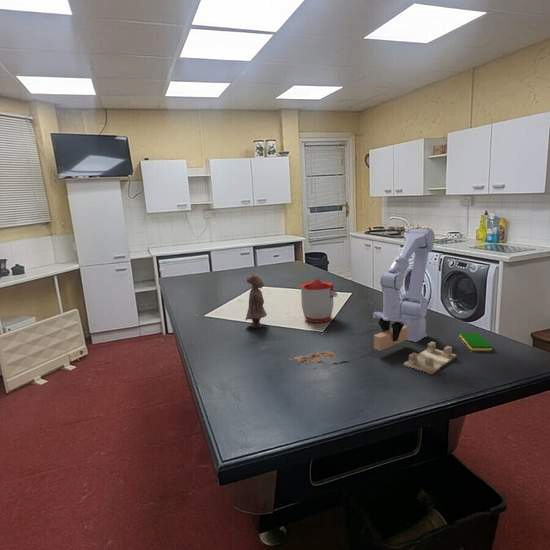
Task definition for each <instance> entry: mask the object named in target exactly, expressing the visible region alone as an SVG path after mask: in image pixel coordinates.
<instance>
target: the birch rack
mask: <svg viewBox="0 0 550 550" xmlns="http://www.w3.org/2000/svg"><path fill="white" fill-rule="evenodd" d="M436 346H437V345H436V342H435V341H430V342H428V343H427V348H426V349H424V350H423V351H421V352H419V353H416V352H412V353H409V355H408V359H407V361H405V362H404V363H403V366H404V365H405V366H404V367H406V366H408V367H407V368H409V367H411V368H410V369H412V368H415V369H417V370H416V371H418V370H420V371H419V372H421V371H423V372H422V373H424V372H427V373H430V374H432V373H433V374H435V373H436V372H437V371H436V370H438V369H439V368H440V367H442V366H443V365H445V364H446V363H448V362H449V361H450V362H452V361H453V360H454V359H453V358H455V357H456V358H457V354H455V353H452V349H453V348H452V346H449V345H446V346H445V347H444V348H443V350H440V349H437V348H436ZM456 358H455V359H456ZM452 359H453V360H452ZM451 360H452V361H451ZM450 362H449V363H450ZM449 363H448V364H449ZM446 365H447V364H446ZM446 365H445V366H446ZM443 367H444V366H443ZM443 367H442V368H443ZM415 369H414V370H415ZM439 370H440V369H439ZM439 370H438V371H439ZM435 371H436V372H435ZM434 372H435V373H434ZM427 373H426V374H427ZM430 374H429V375H430ZM433 374H432V375H433Z"/></svg>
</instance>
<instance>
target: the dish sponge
mask: <svg viewBox="0 0 550 550" xmlns="http://www.w3.org/2000/svg"><path fill="white" fill-rule="evenodd" d="M460 337H461V338H462V340H463V341H464V342H465V343H466V344H467V346H468V347H469V348H470V349H471V350H492V351H493V346H492V345H491V344H490V343H489V342H488V341H487V340H486V339H485V338H484V337H483V336H482V335H481V333H479V332H460V333H459V338H460ZM462 340H461V341H462ZM463 341H462V342H463ZM464 342H463V343H464ZM467 346H466V347H467ZM468 347H467V348H468ZM469 348H468V349H469Z"/></svg>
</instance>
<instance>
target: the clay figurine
mask: <svg viewBox="0 0 550 550" xmlns="http://www.w3.org/2000/svg"><path fill="white" fill-rule="evenodd" d="M246 282H247V283H248V284H249V285H251V289H250V291H249V296H248V308H247V311H246V317H245V321H247V320H251V321H252V322H251V323H250V325H251V328H260V329H261V328H262V323H261V322H260V321H261V319H263V318H265V317H267V315H268V314H267V312H266V310H265V308H264V303H265V300H264V297H263V292H262V290H261V289H262V288H263V287H264V286H265V284H264V282H263V278H262V277H260V275H259V274H257V273H250V274H249V275H248V276H247V277H246Z"/></svg>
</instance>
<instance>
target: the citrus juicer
mask: <svg viewBox="0 0 550 550" xmlns="http://www.w3.org/2000/svg"><path fill="white" fill-rule="evenodd" d="M299 286H300V294H301V295H300V296H301V308H302V312H303V316H304V318H305V320H306V321H307V322H309V321H310V323H325V322H327V321H329V320H331V318H332V313H333V310H334V298H337V297H338V293H337V292H336V291H334V283H332V282H330V281H329V282H328V281H322V280H319V278H316V279H314V280H313V281H309V282H304V283H301V284H300V285H299Z"/></svg>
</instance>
